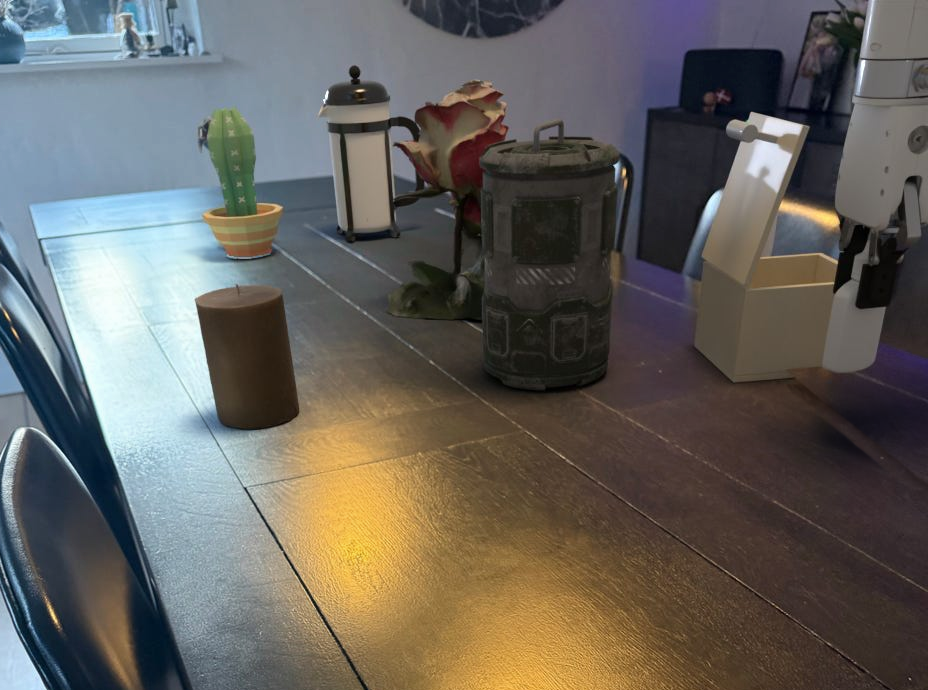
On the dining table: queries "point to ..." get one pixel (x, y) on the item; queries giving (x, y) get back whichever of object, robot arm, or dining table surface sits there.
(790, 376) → the beige open box
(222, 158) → the potted cactus
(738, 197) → the lid
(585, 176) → the canister
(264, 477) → the dining table surface
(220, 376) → the pillar candle
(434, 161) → the red and cream rose
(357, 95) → the coffee press
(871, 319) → the eye dropper bottle
